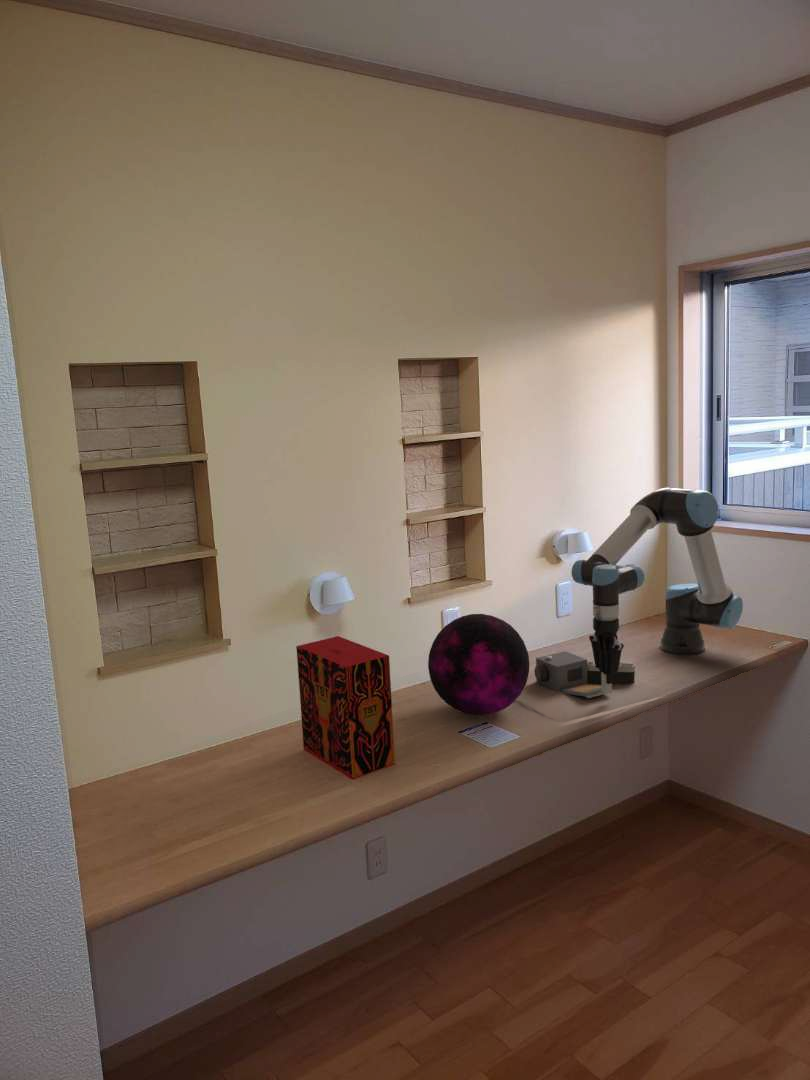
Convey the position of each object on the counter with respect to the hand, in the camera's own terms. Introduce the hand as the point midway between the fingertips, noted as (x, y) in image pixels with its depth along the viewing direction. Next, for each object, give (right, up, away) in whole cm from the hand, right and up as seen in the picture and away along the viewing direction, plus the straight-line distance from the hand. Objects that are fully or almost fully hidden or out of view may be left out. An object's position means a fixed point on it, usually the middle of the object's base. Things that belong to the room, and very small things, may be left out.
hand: (606, 692), depth 266 cm
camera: (+5, -1, +19) cm, 20 cm away
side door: (-7, -1, +14) cm, 15 cm away
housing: (-10, -1, +19) cm, 22 cm away
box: (-76, -13, -27) cm, 82 cm away
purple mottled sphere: (-38, -6, 0) cm, 39 cm away
